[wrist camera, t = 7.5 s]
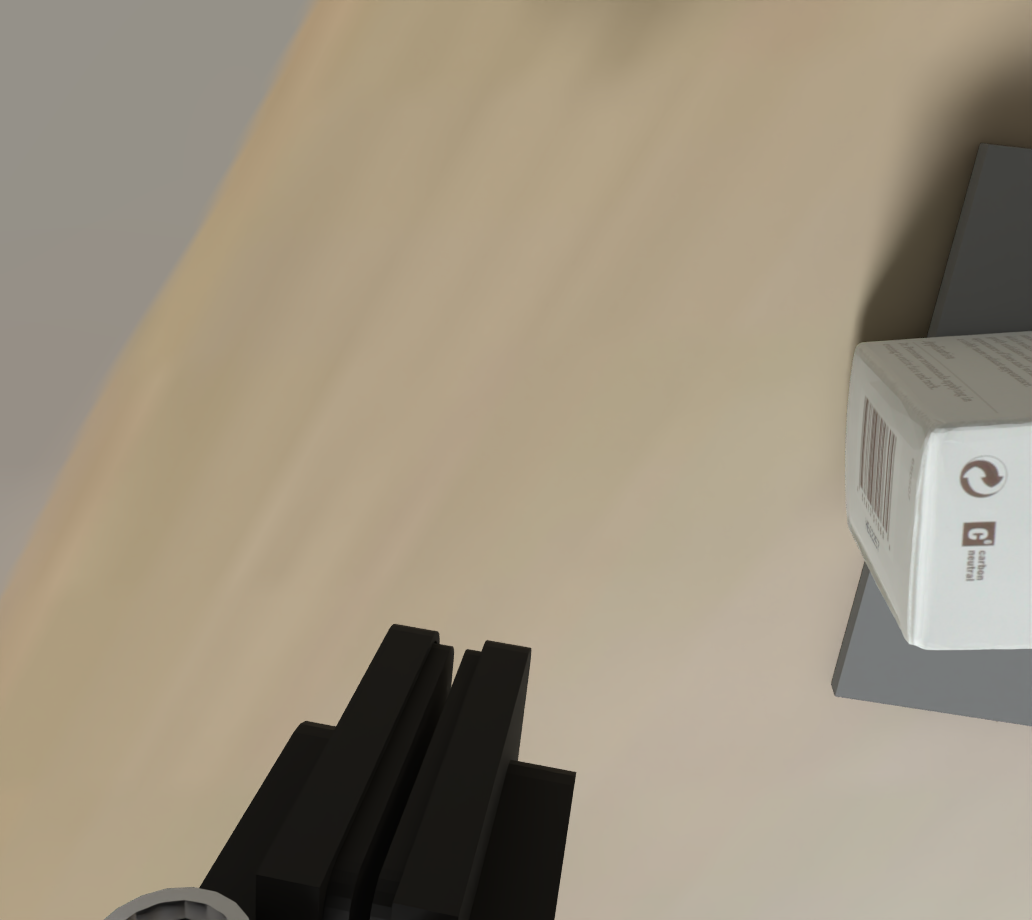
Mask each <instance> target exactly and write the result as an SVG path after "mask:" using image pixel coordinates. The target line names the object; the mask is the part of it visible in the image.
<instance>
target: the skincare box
mask: <svg viewBox="0 0 1032 920" xmlns="http://www.w3.org/2000/svg"><path fill="white" fill-rule="evenodd" d="M845 491H846V512H847V521H848V526H849V530H850V532H851V534H852V536H853V538H854V540H855V542H856V544H857V545H858V547H859V549H860V551H861V554H862V556H863V558H864V560H865V562H866V564H867V566H868V568H869V570H870V572H871V574H872V576H873V578H874V580H875V582H876V584H877V586H878V588H879V590H880V592H881V594H882V596H883V597H884V599H885V601H886V603H887V605H888V607H889V609H890V611H891V612H892V614H893V616H894V618H895V619H896V622H897V624H898V626H899V628H900V629H901V631H902V634H903V636H904V638H905V640H906V641H907V642H908V643H909V644H911V645H915V646H917V647H920V648H922V649H925V650H981V649H1032V331H1023V332H1007V333H993V334H978V335H963V336H946V337H931V338H916V339H902V340H888V341H874V342H861V343H859V344H858V345H857V346H856V349H855V353H854V357H853V362H852V370H851V377H850V386H849V397H848V407H847V425H846V451H845Z"/></svg>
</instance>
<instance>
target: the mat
mask: <svg viewBox="0 0 1032 920" xmlns="http://www.w3.org/2000/svg"><path fill="white" fill-rule="evenodd" d="M1023 331H1032V149H1029V148H1020V147H1011V146H1002V145H993V144H984V143H980V146H979V149H978V153H977V157H976V160H975V164H974V168H973V171H972V175H971V178H970V182H969V186H968V189H967V193H966V197H965V200H964V204H963V207H962V211H961V215H960V218H959V222H958V226H957V229H956V233H955V237H954V240H953V244H952V247H951V251H950V255H949V258H948V262H947V266H946V269H945V273H944V276H943V280H942V284H941V287H940V291H939V295H938V298H937V302H936V305H935V309H934V313H933V316H932V320H931V324H930V327H929V331H928V335H927V338H931V337H946V336H963V335H978V334H993V333H1007V332H1023ZM831 685H832V689H833V692H834V695H835V696H836V697H843V698H850V699H856V700H863V701H869V702H876V703H882V704H889V705H895V706H902V707H909V708H915V709H922V710H928V711H935V712H941V713H948V714H955V715H961V716H968V717H974V718H981V719H987V720H994V721H1001V722H1007V723H1014V724H1020V725H1027V726H1032V649H981V650H925V649H922V648H920V647H917V646H915V645H911V644H909V643H908V642H907V641H906V640H905V638H904V636H903V634H902V631H901V629H900V628H899V626H898V624H897V622H896V619H895V618H894V616H893V614H892V612H891V611H890V609H889V607H888V605H887V603H886V601H885V599H884V597H883V596H882V594H881V592H880V590H879V588H878V586H877V584H876V582H875V580H874V578H873V576H872V574H871V572H870V570H869V568H868V566H867V564H866V562H865V563H864V567H863V570H862V574H861V578H860V581H859V585H858V589H857V592H856V596H855V600H854V603H853V607H852V610H851V614H850V618H849V621H848V625H847V629H846V632H845V636H844V639H843V643H842V647H841V650H840V654H839V658H838V661H837V665H836V668H835V672H834V676H833V679H832V683H831Z"/></svg>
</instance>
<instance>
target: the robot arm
mask: <svg viewBox="0 0 1032 920" xmlns="http://www.w3.org/2000/svg"><path fill="white" fill-rule="evenodd" d="M439 643H440V638H439V633H438V631H432V630H426V629H421V628H415V627H409V626H404V625H398V624H393V625H392V626H391V627H390V629H389V631H388V632H387V634H386V636H385V638H384V640H383V642H382V643H381V645H380V647H379V649H378V651H377V653H376V654H375V656H374V658H373V660H372V662H371V664H370V665H369V667H368V669H367V671H366V673H365V675H364V676H363V678H362V680H361V682H360V684H359V686H358V687H357V689H356V691H355V693H354V695H353V697H352V698H351V700H350V702H349V704H348V706H347V708H346V709H345V711H344V713H343V715H342V717H341V719H340V721H339V722H338V724H337V726H336V727H335V726H330V725H325V724H320V723H314V722H309V721H305V722H303V723H301V724H300V725H299V726H298V727H297V729H296V730H295V731H294V733H293V734H292V736H291V738H290V739H289V741H288V743H287V744H286V746H285V748H284V749H283V751H282V752H281V754H280V756H279V757H278V759H277V761H276V762H275V764H274V766H273V767H272V769H271V771H270V772H269V774H268V776H267V777H266V779H265V780H264V782H263V784H262V785H261V787H260V789H259V790H258V792H257V794H256V795H255V797H254V799H253V800H252V802H251V804H250V805H249V807H248V808H247V810H246V812H245V813H244V815H243V817H242V818H241V820H240V822H239V823H238V825H237V827H236V828H235V830H234V831H233V833H232V835H231V836H230V838H229V840H228V841H227V843H226V845H225V846H224V848H223V850H222V851H221V853H220V855H219V856H218V858H217V859H216V861H215V863H214V864H213V866H212V868H211V869H210V871H209V873H208V874H207V876H206V878H205V879H204V881H203V883H202V884H201V886H200V887H199V888H195V887H185V888H167V889H163V890H160V891H156V892H153V893H149V894H146V895H142V896H140V897H138V898H136V899H134V900H132V901H130V902H128V903H127V904H125V905H123V906H121V907H119V908H117V909H116V910H115V911H113V912H112V913H111V914H110V915H109V916H108V917H106V918H105V919H104V920H554V918H555V912H556V905H557V898H558V891H559V885H560V878H561V871H562V864H563V858H564V851H565V844H566V837H567V831H568V824H569V817H570V811H571V804H572V797H573V790H574V784H575V777H576V772H572V771H567V770H562V769H557V768H551V767H546V766H541V765H536V764H530V763H525V762H520V761H518V755H519V747H520V739H521V731H522V723H523V716H524V708H525V700H526V692H527V684H528V676H529V669H530V660H531V648H528V647H523V646H517V645H511V644H506V643H500V642H494V641H489V640H487V641H486V642H485V644H484V646H483V649H482V652H480V651H475V650H469V649H467V650H466V651H465V653H464V656H463V658H462V661H461V664H460V666H459V669H458V671H457V674H456V677H455V679H454V682H453V684H452V687H451V682H452V671H453V660H454V648H453V647H452V646H447V645H441V644H439Z"/></svg>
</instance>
